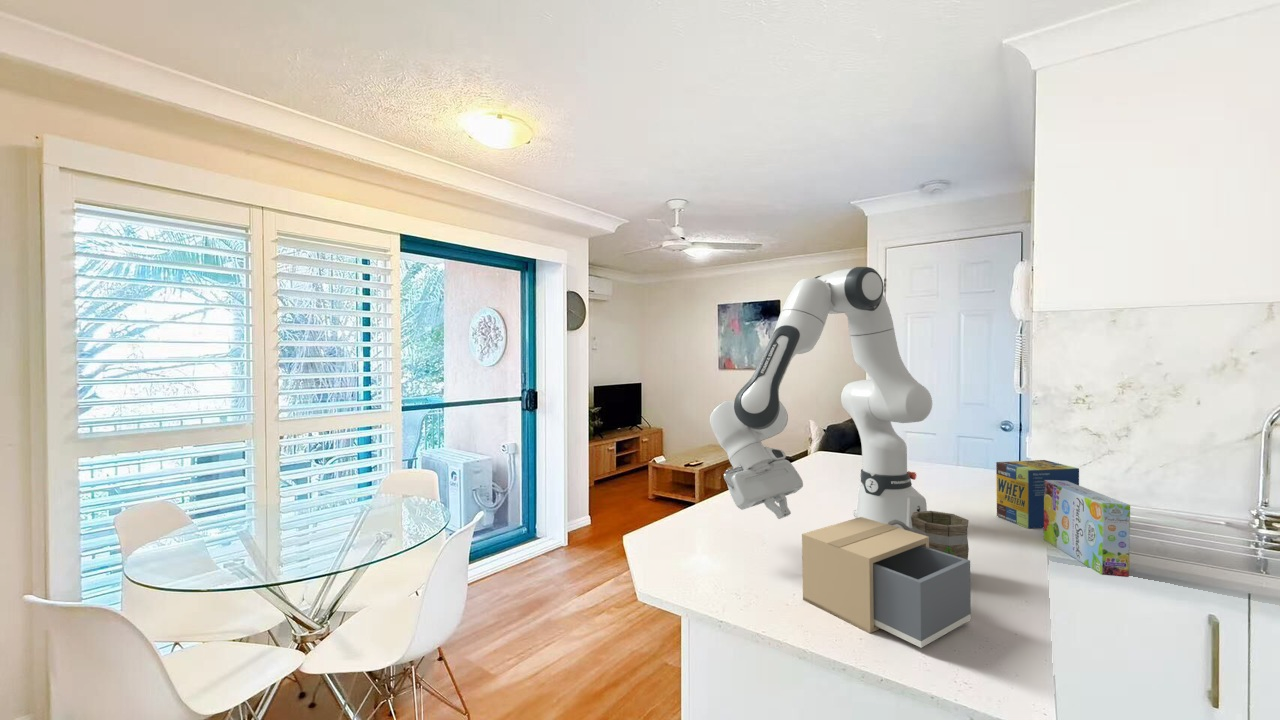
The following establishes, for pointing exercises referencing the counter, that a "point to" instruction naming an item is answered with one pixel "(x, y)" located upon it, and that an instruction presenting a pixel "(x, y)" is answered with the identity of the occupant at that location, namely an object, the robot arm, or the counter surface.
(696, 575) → the counter surface
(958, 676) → the counter surface
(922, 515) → the mug
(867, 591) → the mailer sleeve
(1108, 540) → the snack box
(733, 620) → the counter surface
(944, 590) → the mailer tray
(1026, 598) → the counter surface
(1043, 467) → the protein box
